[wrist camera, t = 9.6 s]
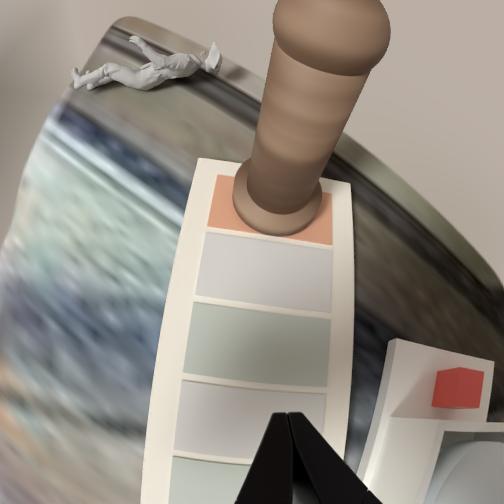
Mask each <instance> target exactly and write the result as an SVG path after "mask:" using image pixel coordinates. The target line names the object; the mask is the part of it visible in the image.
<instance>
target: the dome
mask: <svg viewBox="0 0 504 504" xmlns="http://www.w3.org/2000/svg"><path fill="white" fill-rule="evenodd" d="M423 504H504V443H501V442H489V441H470V440H464V441H459V442H456V443H453V444H451V445H449V446H448V447H446V448H445V449H443V450H442V451H440V452H439V454H438V458H437V461H436V465H435V468H434V472H433V475H432V478H431V481H430V484H429V488H428V491H427V493H426V496H425V499H424V502H423Z"/></svg>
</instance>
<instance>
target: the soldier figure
mask: <svg viewBox="0 0 504 504" xmlns="http://www.w3.org/2000/svg"><path fill="white" fill-rule="evenodd" d="M131 37H132V38H130V39H133V40H129V41H130V42H134V43H136V44H137V45H138V46H139V47H140V48H142V49H143V53H144V54H145V55H146V56H147V57H148V58H149V59H150V60H151V61H152V62H150V63H148V64H145V65H143V66H141V68H140V70H141V71H140V70H138V69H136V68H131V67H127V66H124V65H120V64H117V63H106V64H104V65H103V67H100V68H99V69H97V70H95V71H93V72H91V71H87V72H86V75H83V76H81V75H79V72H78V69H77V68H72V72H71V75H72V77H73V78H74V81H75V83H74V87H75V89H76V90H77V89H80V88H81V87H83V85H85V84H87V89H88V90H89V91H90V90H92V89H94V88H95V87H97V86H99V85H103V84H106V83H109V82H111V81H113V80H116V81H118V82H121V83H123V84H124V85H126V86H128V87H133V88H135V89H141V90H146V91H147V90H149V89H151V88H153V87H156V86H158V85H159V84H161V83H162V82H163V81H165V80H166V79H169V78H171V79H174V78H180V77H188V76H189V75H192V74H193V73H194V72H195V71H196V70H198V66H202V63H203V61H202V62H201V61H200V60H199V59H198V58H197V56H194V55H193V54H191V53H189V55H186V54H184V53H177V54H174V55H171V56H168V57H167V56H165V55H160V54H159V53H157V52H156V51H155V50H153V49H152V48H151V47H148V46H147V44H146V43H145V42H144V41H143V40H142V39H141V38H140V37H138V36H131ZM134 40H135V41H134ZM204 52H206V51H204ZM204 52H201V53H204ZM200 55H201V54H200ZM205 55H206V53H205ZM201 58H202V57H201ZM201 60H202V59H201ZM204 61H205V63H206V72H212V71H214V72H215V74H216V75H217V74H218V72H219V69H220V67H221V64H222V56H221V54H220V52H219V49H218V47H217V45H216V44H215V43H214V42H213V44H212V46H211V49H210V51H209V56H208V58H207V59H206V60H204ZM202 67H203V66H202Z"/></svg>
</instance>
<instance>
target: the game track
mask: <svg viewBox="0 0 504 504" xmlns="http://www.w3.org/2000/svg"><path fill="white" fill-rule="evenodd" d="M241 165H242V164H241V163H234V162H227V161H220V160H212V159H204V158H199V159H198V163H197V167H196V170H195V174H194V178H193V182H192V186H191V190H190V194H189V198H188V202H187V206H186V210H185V215H184V219H183V223H182V228H181V232H180V236H179V241H178V246H177V250H176V255H175V260H174V264H173V269H172V274H171V279H170V284H169V289H168V294H167V300H166V305H165V310H164V316H163V322H162V327H161V333H160V339H159V345H158V351H157V358H156V364H155V371H154V378H153V385H152V392H151V400H150V408H149V416H148V424H147V433H146V443H145V453H144V464H143V476H142V489H141V504H234V502H235V501H236V498H237V496H238V494H239V492H240V489H241V487H242V485H243V483H244V480H245V478H246V476H247V473H248V471H249V469H250V466H251V464H252V462H253V459H254V457H255V455H256V452H257V450H258V447H259V445H260V442H261V440H262V437H263V435H264V432H265V430H266V427H267V425H268V422H269V420H270V417H271V415H272V413H273V412H286V413H288V412H302V413H303V414H304V415H305V416H306V417H307V419H308V420H309V421H310V422H311V423H312V425H313V426H314V427H315V428H316V429H317V431H318V432H319V433H320V434H321V435H322V436H323V438H324V439H325V440H326V441H327V442H328V443H329V445H330V446H331V447H332V448H333V449H334V450H335V452H336V453H337V454H338V455H339V456H340V457H341V458H342V460H343V459H344V451H345V443H346V434H347V424H348V414H349V403H350V390H351V376H352V358H353V333H354V246H353V221H352V203H351V188H350V183H345V182H340V181H336V180H331V179H326V178H321V177H320V179H319V182H320V184H321V188H322V201H321V205H320V207H319V209H318V211H317V213H316V214H315V216H314V218H313V220H312V221H311V223H310V224H309V225H308V226H307V227H306V228H305V229H304V230H302V231H300V232H298V233H296V234H293V235H290V236H284V237H276V236H269V235H265V234H262V233H259V232H257V231H255V230H253V229H252V228H250V227H249V226H248V225H246V224H245V223H244V222H243V221H242V220H241V218H240V217H239V216H238V214H237V212H236V210H235V208H234V205H233V199H232V194H233V185H234V178H235V175H236V172H237V170H238V169H239V167H240V166H241Z"/></svg>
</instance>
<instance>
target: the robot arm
mask: <svg viewBox="0 0 504 504" xmlns="http://www.w3.org/2000/svg"><path fill="white" fill-rule="evenodd" d="M234 504H383V503H382V502H381V501H380V500H379V499H378V498H377V497H376V496H375V495H374V494H373V493H372V492H371V491H370V490H368V487H367V486H366V485H365V484H364V483H363V482H362V481H361V480H360V479H359V478H358V476H357V475H356V474H355V473H354V472H353V471H352V470H351V469H350V467H349V466H348V465H347V464H346V463H345V462H344V461H343V460H342V458H341V457H340V456H339V455H338V454H337V453H336V452H335V450H334V449H333V448H332V447H331V446H330V445H329V443H328V442H327V441H326V440H325V439H324V438H323V436H322V435H321V434H320V433H319V432H318V431H317V429H316V428H315V427H314V426H313V425H312V423H311V422H310V421H309V420H308V419H307V417H306V416H305V415H304V414H303V413H302V412H288V413H286V412H273V413H272V415H271V417H270V420H269V422H268V425H267V427H266V430H265V432H264V435H263V437H262V440H261V442H260V445H259V447H258V450H257V452H256V455H255V457H254V459H253V462H252V464H251V466H250V469H249V471H248V473H247V476H246V478H245V480H244V483H243V485H242V487H241V489H240V492H239V494H238V496H237V498H236V501H235V502H234Z"/></svg>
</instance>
